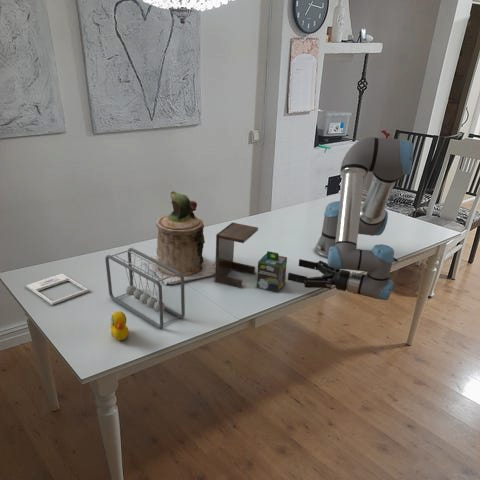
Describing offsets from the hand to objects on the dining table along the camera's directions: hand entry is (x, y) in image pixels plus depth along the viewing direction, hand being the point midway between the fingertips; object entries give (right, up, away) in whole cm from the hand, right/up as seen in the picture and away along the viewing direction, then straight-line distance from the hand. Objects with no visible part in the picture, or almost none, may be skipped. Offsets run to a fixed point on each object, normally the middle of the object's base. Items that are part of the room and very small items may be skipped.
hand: (293, 269), depth 178 cm
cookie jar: (-45, +2, +16) cm, 48 cm away
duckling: (-59, -25, -28) cm, 70 cm away
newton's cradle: (-54, -16, -12) cm, 58 cm away
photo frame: (-89, -8, -4) cm, 89 cm away
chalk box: (-8, -6, +8) cm, 13 cm away
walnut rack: (-22, -2, +12) cm, 26 cm away
